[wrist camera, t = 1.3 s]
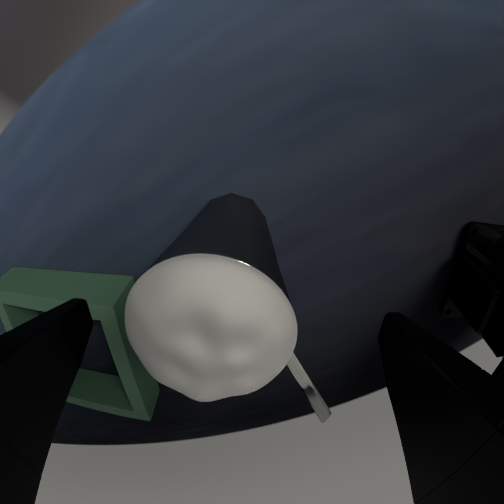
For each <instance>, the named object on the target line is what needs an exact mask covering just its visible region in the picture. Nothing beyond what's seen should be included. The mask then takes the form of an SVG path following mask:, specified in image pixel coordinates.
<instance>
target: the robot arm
mask: <svg viewBox="0 0 504 504" xmlns="http://www.w3.org/2000/svg"><path fill="white" fill-rule="evenodd" d="M473 229H474V231H473V232H472V230H473ZM446 310H447V311H446ZM439 312H440V314H441V315H442V317H443V318H455V317H465V319H466V320H467V321H468V323H469V324H470V325H471V326H472V328H473V329H474V330H475V332H476V333H477V334H478V335H481V336H482V338H483V339H484V340H485V342H486V343H487V344H488V346H489V347H490V349H491V350H492V351H493V353H494V354H495V356H496V357H501V356H502V358H503V359H502V361H501V362H500V364H499V365H498V367H497V368H496V369H495V371H494V372H493V374H492V375H490V374H489V373H488V372H486V371H485V370H482V369H481V368H480V367H479V366H478V365H476V364H475V363H473V362H472V361H471V360H469V359H468V358H466V357H465V356H463V355H462V354H460V353H459V352H458V351H456V350H455V349H453V348H452V347H450V346H449V345H447V344H446V343H444V342H443V341H441V340H440V339H438V338H437V337H436V336H434V335H433V334H431V333H430V332H428V331H427V330H425V329H424V328H422V327H421V326H419V325H418V324H416V323H415V322H413V321H412V320H410V319H409V318H407V317H406V316H404V315H403V314H401V313H399V312H389V313H387V314H386V315H385V317H384V319H383V322H382V326H381V329H380V332H379V335H378V343H379V348H380V353H381V358H382V364H383V370H384V376H385V381H386V385H387V389H388V393H389V396H390V400H391V404H392V407H393V411H394V415H395V418H396V422H397V427H398V430H399V434H400V438H401V443H402V447H403V452H404V456H405V461H406V465H407V470H408V474H409V480H410V484H411V490H412V495H413V502H414V503H415V504H504V226H503V225H496V224H488V223H481V222H470V223H468V224H467V226H466V228H465V232H464V235H463V239H462V243H461V247H460V250H459V254H458V257H457V260H456V264H455V267H454V270H453V273H452V276H451V279H450V282H449V285H448V288H447V291H446V294H445V297H444V299H443V302H442V305H441V307H440V311H439ZM92 328H93V320H92V316H91V313H90V310H89V306H88V303H87V301H86V300H85V299H81V298H73V299H71V300H69V301H67V302H64V303H62V304H60V305H58V306H56V307H54V308H52V309H50V310H48V311H46V312H44V313H43V314H41V315H39V316H37V317H35V318H33V319H31V320H29V321H27V322H25V323H23V324H21V325H19V326H17V327H15V328H13V329H11V330H9V331H8V332H6V333H4V334H2V335H0V504H34V503H35V500H36V495H37V491H38V488H39V484H40V480H41V475H42V472H43V469H44V465H45V462H46V459H47V455H48V452H49V449H50V446H51V443H52V440H53V437H54V434H55V431H56V428H57V425H58V422H59V419H60V416H61V414H62V411H63V408H64V406H65V403H66V400H67V398H68V395H69V393H70V390H71V388H72V385H73V383H74V380H75V378H76V375H77V373H78V370H79V368H80V365H81V362H82V359H83V356H84V352H85V349H86V346H87V343H88V340H89V337H90V334H91V331H92Z"/></svg>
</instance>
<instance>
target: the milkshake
mask: <svg viewBox="0 0 504 504" xmlns="http://www.w3.org/2000/svg"><path fill="white" fill-rule="evenodd" d="M125 328H126V333H127V337H128V340H129V342H130V344H131V346H132V348H133V350H134V351H135V353H136V355H137V356H138V358H139V359H140V361H141V362H142V364H143V365H144V367H145V368H146V370H147V371H148V372H149V373H150V375H151V376H152V377H153V378H154V379H155V380H157V381H158V382H160V383H162V384H163V385H165V386H168V387H170V388H172V389H174V390H176V391H178V392H180V393H182V394H184V395H186V396H187V397H189V398H191V399H193V400H196V401H201V402H210V401H215V400H219V399H222V398H226V397H230V396H238V395H245V394H248V393H251V392H254V391H256V390H258V389H260V388H261V387H263V386H265V385H266V384H267V383H269V382H270V381H271V380H272V379H274V378H275V377H276V376H277V375H278V374H279V373H280V372H281V371H282V369H283V368H284V367H285V366H286V364H287V366H288V368H289V369H290V371H291V373H292V374H293V376H294V378H295V379H296V381H297V383H298V384H299V386H300V388H301V389H302V391H303V393H304V394H305V396H306V398H307V399H308V401H309V403H310V404H311V406H312V408H313V409H314V411H315V413H316V414H317V416H318V418H319V419H320V421H321V422H322V423H324V422H325V421H326V420H327V419H328V418H329V416H330V415H331V411H330V409H329V408H328V406H327V405H326V403H325V401H324V400H323V398H322V397H321V395H320V394H319V392H318V390H317V389H316V387H315V386H314V384H313V382H312V381H311V379H310V378H309V376H308V375H307V373H306V371H305V370H304V368H303V367H302V365H301V363H300V362H299V360H298V359H297V357H296V355H295V354H294V352H293V351H294V348H295V345H296V340H297V321H296V317H295V314H294V311H293V308H292V305H291V302H290V299H289V296H288V293H287V290H286V287H285V284H284V281H283V278H282V275H281V272H280V268H279V265H278V262H277V258H276V254H275V250H274V246H273V243H272V239H271V235H270V232H269V228H268V224H267V221H266V217H265V216H264V214H263V213H262V212H261V210H260V209H259V208H258V206H257V205H256V204H255V202H254V201H253V200H252V199H249V198H246V197H243V196H239V195H236V194H233V193H230V194H227V195H224V196H221V197H218V198H215V199H212V200H210V201H209V202H208V204H207V205H206V206H205V207H204V208H203V209H202V210H201V212H200V213H199V214H198V215H197V216H196V217H195V218H194V220H193V221H192V222H191V223H190V224H189V225H188V226H187V228H186V229H185V230H184V231H183V232H182V233H181V234H180V235H179V237H178V238H177V239H176V240H175V241H174V242H173V243H172V244H171V245H170V246H169V247H168V248H167V249H166V250H165V251H164V252H163V253H162V254H161V255H160V256H159V257H158V258H157V259H156V261H155V262H154V263H153V264H152V265H151V266H150V267H149V268H148V269H147V270H146V271H145V272H144V273H143V275H142V276H141V277H140V278H139V279H138V280H137V281H136V283H135V284H134V285H133V287H132V288H131V290H130V292H129V294H128V297H127V300H126V305H125Z"/></svg>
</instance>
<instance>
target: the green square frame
mask: <svg viewBox="0 0 504 504" xmlns="http://www.w3.org/2000/svg"><path fill="white" fill-rule="evenodd" d="M134 284H135V282H134V276H126V275H111V274H97V273H84V272H71V271H59V270H47V269H36V268H25V267H15V266H13V267H12V268H11V269H10V270H9V271H7V272H6V273H5V274H4V275H3V276H2V277H0V318H1V320H2V322H3V325H4V327H5V329H6V331H7V332H8V331H9V330H11V329H13V328H15V327H17V326H19V325H21V324H23V323H25V322H27V321H29V320H31V319H33V318H35V317H37V316H39V315H38V312H37V310H38V311H44V312H46V311H48V310H50V309H52V308H54V307H56V306H58V305H60V304H62V303H64V302H67V301H69V300H71V299H73V298H81V299H85V300H86V301H87V303H88V306H89V310H90V313H91V316H92V319H93V320H100V321H101V324H102V327H103V330H104V333H105V336H106V339H107V342H108V345H109V348H110V351H111V354H112V357H113V360H114V363H115V365H116V368H117V371H118V373H119V376H116V375H111V374H106V373H100V372H96V371H91V370H86V369H82V368H79V370H78V373H77V375H76V378H75V380H74V383H73V385H72V388H71V390H70V393H69V395H68V398H67V400H66V402H69V403H73V404H76V405H80V406H83V407H87V408H91V409H94V410H98V411H103V412H107V413H111V414H115V415H120V416H125V417H130V418H135V419H140V420H146V421H151V419H152V415H153V412H154V408H155V405H156V402H157V398H158V395H159V392H160V389H159V385H158V382H157V380H155V379H154V378H153V377H152V376H151V375H150V373H149V372H148V371H147V370H146V368H145V367H144V365H143V364H142V362H141V361H140V359H139V358H138V356H137V355H136V353H135V351H134V350H133V348H132V346H131V344H130V342H129V340H128V337H127V333H126V328H125V305H126V300H127V297H128V294H129V292H130V290H131V288H132V287H133V285H134Z"/></svg>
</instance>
